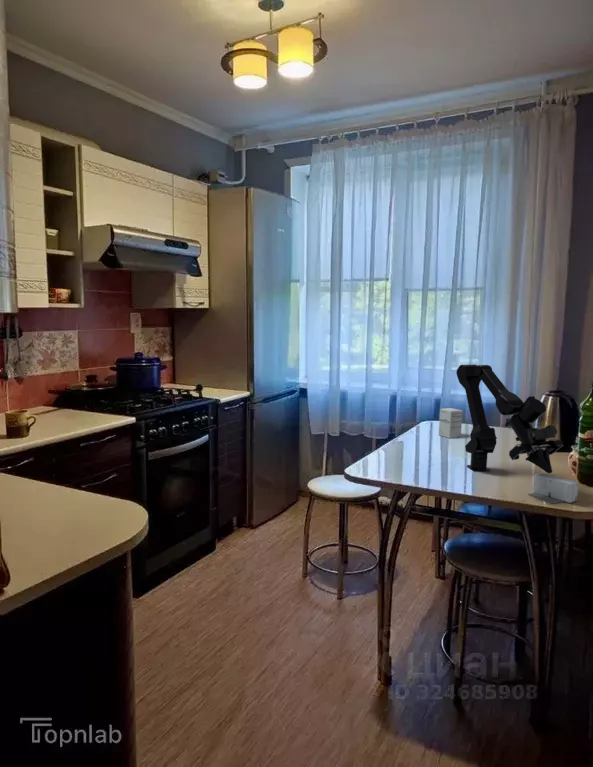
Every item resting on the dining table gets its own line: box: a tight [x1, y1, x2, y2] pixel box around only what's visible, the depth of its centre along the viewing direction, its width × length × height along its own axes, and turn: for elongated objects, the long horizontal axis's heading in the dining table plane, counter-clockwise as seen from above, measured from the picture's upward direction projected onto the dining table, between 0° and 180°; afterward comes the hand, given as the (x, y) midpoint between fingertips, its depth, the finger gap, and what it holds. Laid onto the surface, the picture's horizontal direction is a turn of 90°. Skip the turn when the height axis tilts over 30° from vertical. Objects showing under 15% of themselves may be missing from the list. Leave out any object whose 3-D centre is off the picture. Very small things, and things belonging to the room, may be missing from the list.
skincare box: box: [532, 472, 579, 504], centre depth 173 cm, size 6×4×12 cm
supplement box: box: [438, 407, 463, 439], centre depth 257 cm, size 7×7×13 cm
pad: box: [527, 492, 564, 505], centre depth 174 cm, size 9×8×1 cm
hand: (550, 472), depth 174 cm, fingers closed
